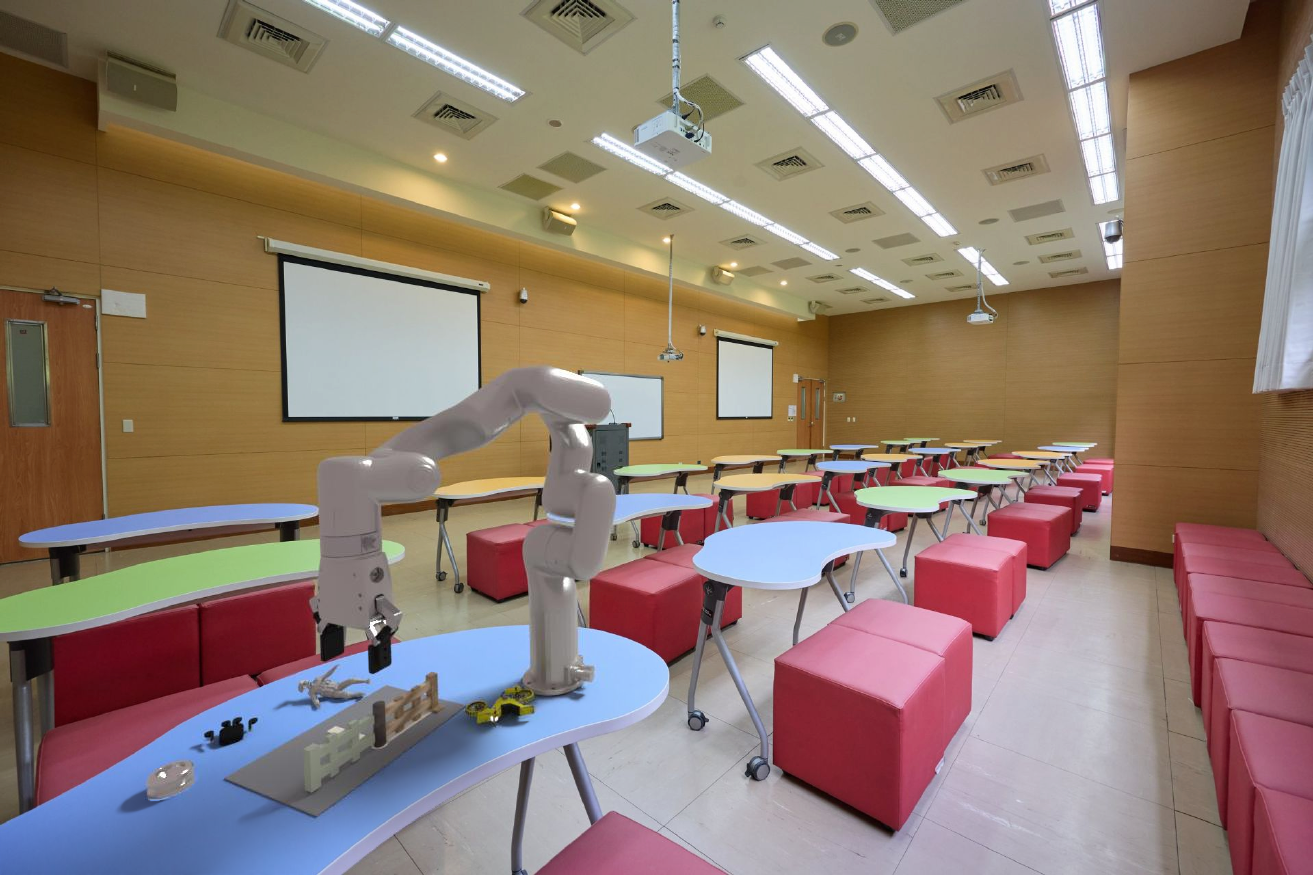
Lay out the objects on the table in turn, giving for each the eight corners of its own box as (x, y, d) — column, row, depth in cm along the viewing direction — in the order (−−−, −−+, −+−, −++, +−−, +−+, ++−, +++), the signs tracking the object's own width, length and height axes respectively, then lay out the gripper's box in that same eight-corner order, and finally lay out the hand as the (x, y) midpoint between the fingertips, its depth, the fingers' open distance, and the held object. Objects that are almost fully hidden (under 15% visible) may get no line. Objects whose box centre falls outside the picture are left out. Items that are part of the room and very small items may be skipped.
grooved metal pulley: (151, 786, 75) (143, 807, 71) (150, 766, 75) (142, 786, 71) (196, 772, 78) (192, 791, 74) (195, 753, 78) (191, 771, 74)
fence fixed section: (384, 751, 83) (382, 709, 82) (366, 746, 84) (364, 704, 84) (444, 709, 94) (443, 671, 94) (427, 705, 96) (426, 668, 95)
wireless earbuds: (202, 747, 83) (204, 723, 86) (204, 758, 83) (205, 734, 87) (258, 730, 87) (257, 708, 91) (258, 741, 88) (257, 719, 91)
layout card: (466, 706, 95) (466, 704, 95) (316, 817, 69) (316, 814, 69) (386, 686, 103) (386, 684, 103) (224, 778, 77) (224, 777, 77)
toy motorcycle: (531, 678, 98) (540, 697, 91) (531, 698, 98) (541, 718, 92) (463, 695, 92) (468, 716, 86) (464, 715, 92) (469, 738, 86)
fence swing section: (369, 745, 83) (368, 709, 83) (376, 747, 83) (374, 711, 82) (304, 789, 74) (303, 748, 73) (311, 792, 73) (309, 751, 73)
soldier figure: (356, 712, 96) (285, 700, 93) (357, 719, 99) (288, 708, 96) (374, 669, 101) (308, 656, 98) (374, 676, 104) (310, 665, 102)
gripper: (419, 543, 73) (422, 662, 74) (335, 533, 80) (339, 642, 81) (372, 556, 66) (376, 688, 67) (284, 544, 73) (288, 664, 74)
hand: (356, 663), depth 74 cm, fingers open, 9 cm apart
